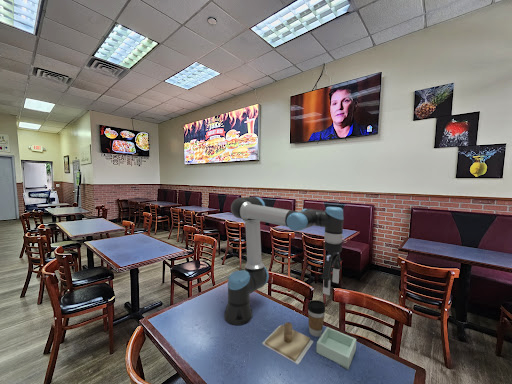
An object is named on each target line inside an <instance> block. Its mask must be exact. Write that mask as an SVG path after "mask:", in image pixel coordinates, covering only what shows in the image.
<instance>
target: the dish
mask: <svg viewBox="0 0 512 384" xmlns="http://www.w3.org/2000/svg"><path fill="white" fill-rule="evenodd" d="M356 351H357V338H355V337H353V336H350V335H348V334H345V333H343V332H341V331H338V330H336V329H333V328H331V327H329V326H326V327H325V329H324V330H323V331H322V335H321V336H319V338H318V340H317V341H316V352H315V353H317V354H319V355H320V356H322V357H324V358H327V359H328V360H331V361H333V362H334V363H335V364H338V365H339V366H340V367H341V368H343V369H345V370H347V371H349V369H350V367H351V364H352V361H353V359H354V357H355V354H356Z"/></svg>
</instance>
